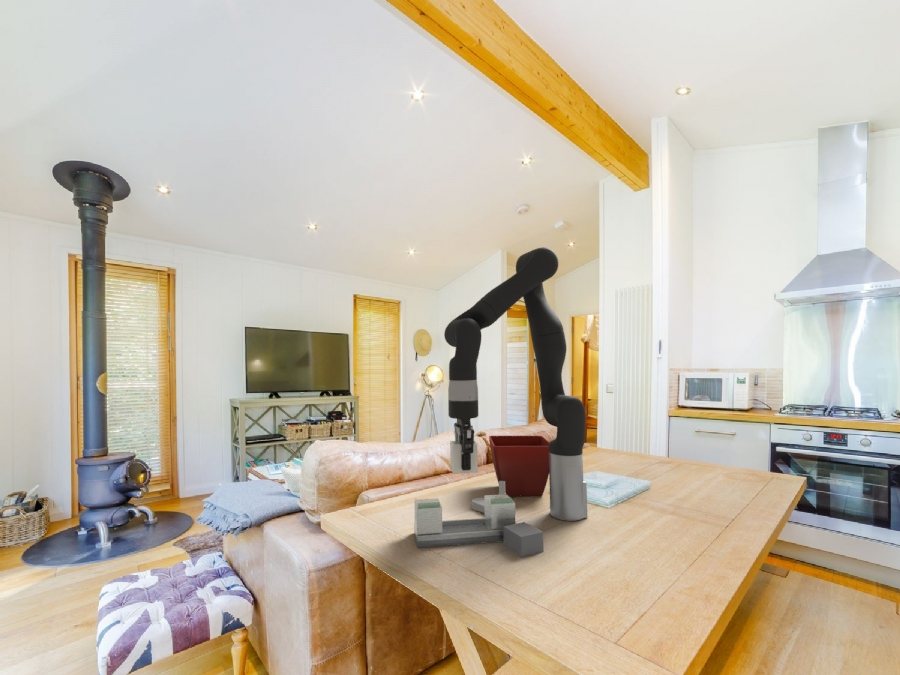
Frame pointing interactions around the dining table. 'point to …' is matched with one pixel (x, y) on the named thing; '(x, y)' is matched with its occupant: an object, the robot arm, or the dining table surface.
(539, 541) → the block
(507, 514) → the rail board
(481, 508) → the electronic device
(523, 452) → the plant pot
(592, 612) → the dining table surface
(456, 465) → the block
